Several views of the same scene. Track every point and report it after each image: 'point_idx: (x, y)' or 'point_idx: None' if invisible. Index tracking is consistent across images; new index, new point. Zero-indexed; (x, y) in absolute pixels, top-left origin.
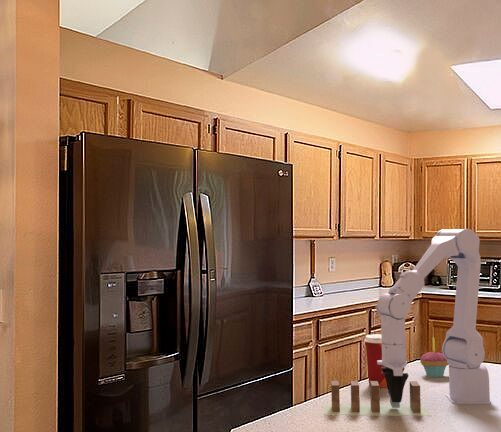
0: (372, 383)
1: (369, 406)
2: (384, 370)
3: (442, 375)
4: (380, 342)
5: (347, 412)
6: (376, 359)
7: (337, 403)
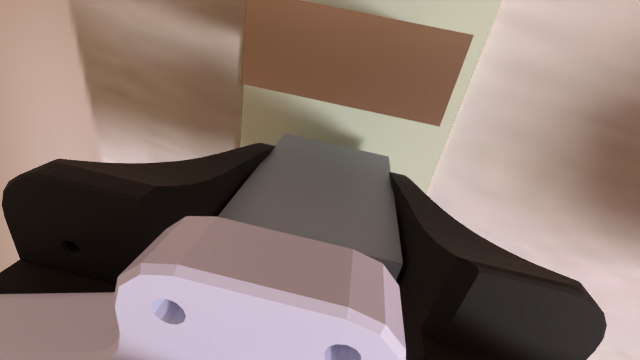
0: (343, 30)
1: (436, 25)
2: (441, 277)
3: None
4: None
5: None
6: None
7: None
